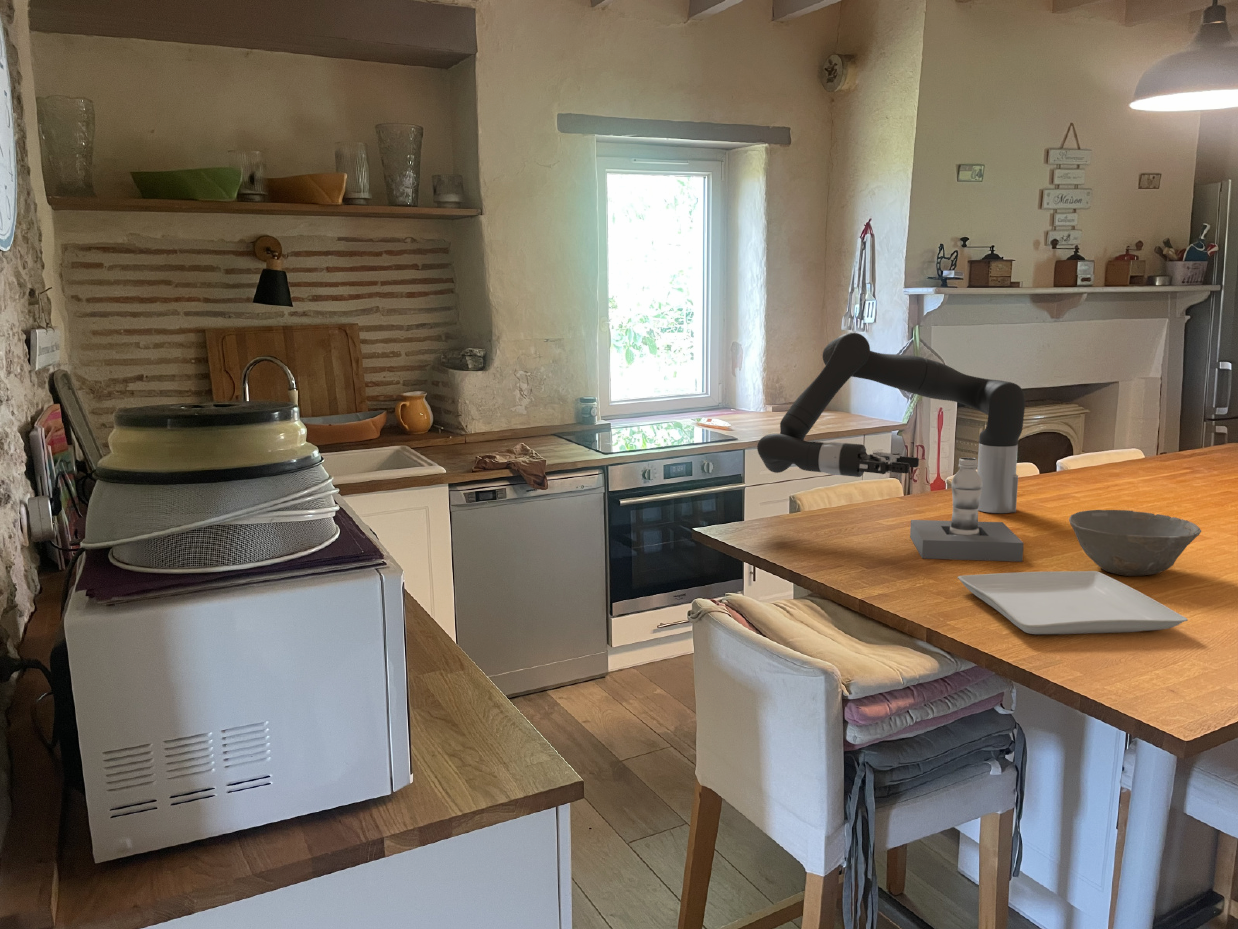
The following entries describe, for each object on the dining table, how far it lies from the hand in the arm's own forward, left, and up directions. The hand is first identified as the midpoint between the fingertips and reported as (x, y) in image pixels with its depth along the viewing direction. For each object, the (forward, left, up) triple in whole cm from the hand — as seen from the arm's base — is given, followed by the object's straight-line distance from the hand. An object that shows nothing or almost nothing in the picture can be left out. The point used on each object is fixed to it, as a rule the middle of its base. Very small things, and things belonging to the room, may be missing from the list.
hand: (914, 465), depth 201 cm
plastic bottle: (-11, +4, -18) cm, 21 cm away
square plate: (-19, +44, -18) cm, 52 cm away
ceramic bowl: (-40, +17, -18) cm, 47 cm away
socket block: (-11, +4, -18) cm, 21 cm away
